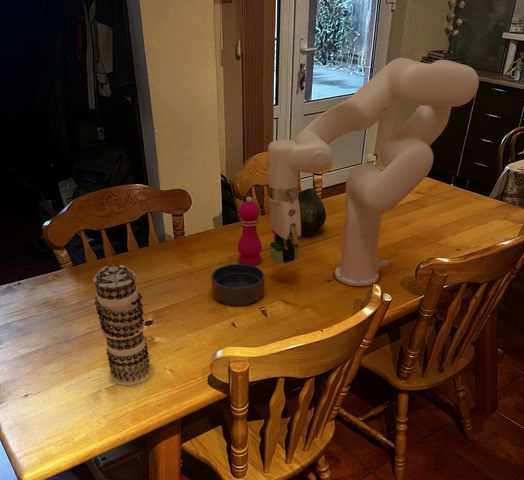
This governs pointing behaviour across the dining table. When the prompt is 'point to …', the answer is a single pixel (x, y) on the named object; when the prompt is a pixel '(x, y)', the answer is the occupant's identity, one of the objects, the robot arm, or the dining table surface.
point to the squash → (311, 211)
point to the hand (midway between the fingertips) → (284, 257)
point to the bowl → (237, 284)
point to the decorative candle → (122, 324)
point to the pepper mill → (249, 233)
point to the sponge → (280, 251)
